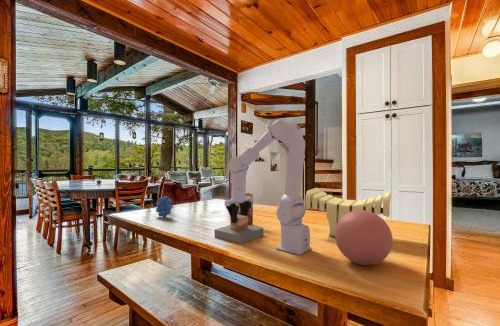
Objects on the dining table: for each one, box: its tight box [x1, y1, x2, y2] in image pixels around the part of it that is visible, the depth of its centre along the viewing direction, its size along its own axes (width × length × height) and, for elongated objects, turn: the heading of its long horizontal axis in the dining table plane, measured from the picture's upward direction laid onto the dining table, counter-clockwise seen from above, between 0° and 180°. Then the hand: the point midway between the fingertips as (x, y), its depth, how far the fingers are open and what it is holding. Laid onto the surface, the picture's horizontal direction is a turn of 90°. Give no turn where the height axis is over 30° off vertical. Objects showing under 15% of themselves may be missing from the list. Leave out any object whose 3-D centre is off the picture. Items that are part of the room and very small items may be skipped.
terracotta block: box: [229, 215, 248, 231], centre depth 102 cm, size 5×5×5 cm
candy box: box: [235, 192, 254, 226], centre depth 119 cm, size 9×4×15 cm, turn 123°
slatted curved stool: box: [304, 187, 392, 238], centre depth 102 cm, size 30×16×18 cm, turn 59°
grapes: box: [155, 195, 174, 219], centre depth 139 cm, size 12×7×12 cm, turn 64°
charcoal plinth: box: [214, 224, 264, 245], centre depth 102 cm, size 14×14×3 cm
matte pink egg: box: [334, 210, 394, 266], centre depth 76 cm, size 15×20×15 cm
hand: (239, 221), depth 102 cm, fingers open, 5 cm apart
